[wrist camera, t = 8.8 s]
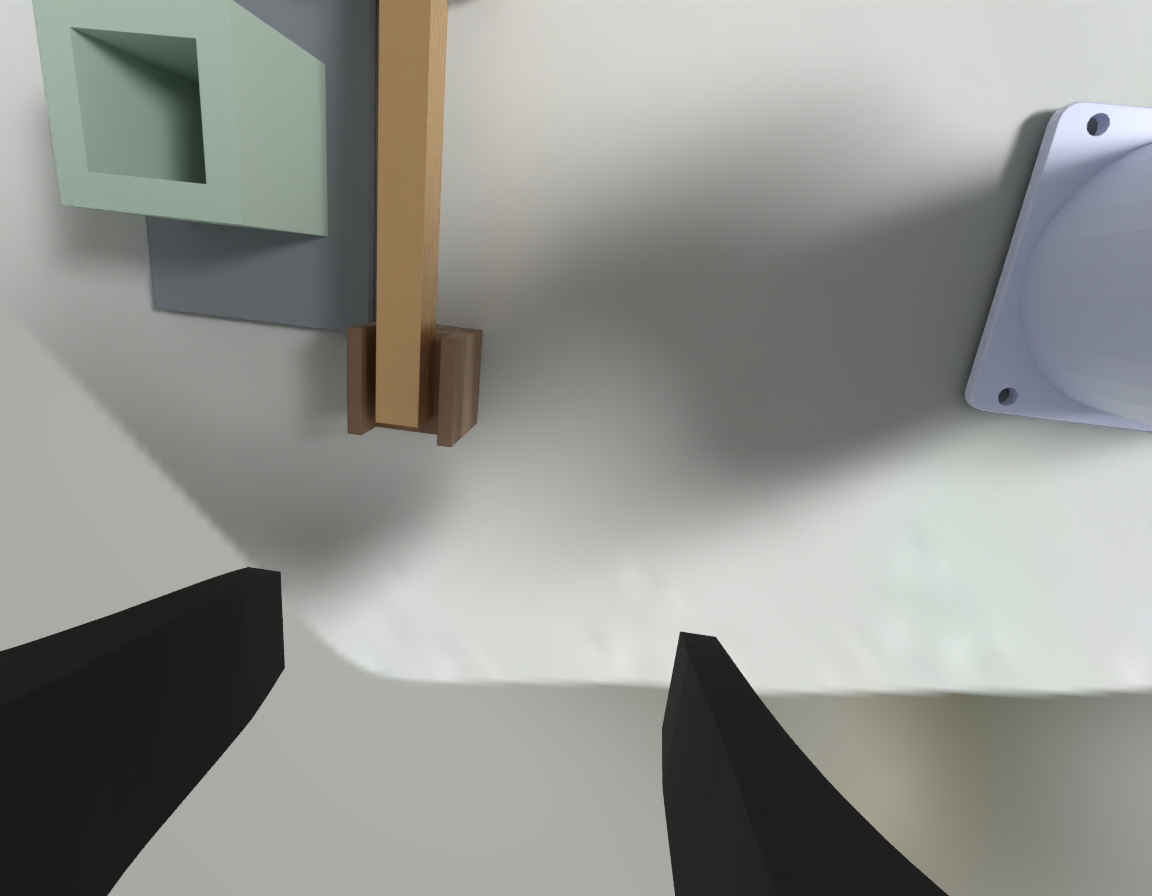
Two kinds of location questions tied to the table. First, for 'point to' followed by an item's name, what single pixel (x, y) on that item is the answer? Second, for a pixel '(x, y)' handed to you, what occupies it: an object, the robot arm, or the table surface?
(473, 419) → the bar stand
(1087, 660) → the table surface
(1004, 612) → the table surface
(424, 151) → the copper bar
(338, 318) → the slate mat
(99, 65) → the hollow green cube
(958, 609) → the table surface
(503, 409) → the table surface
